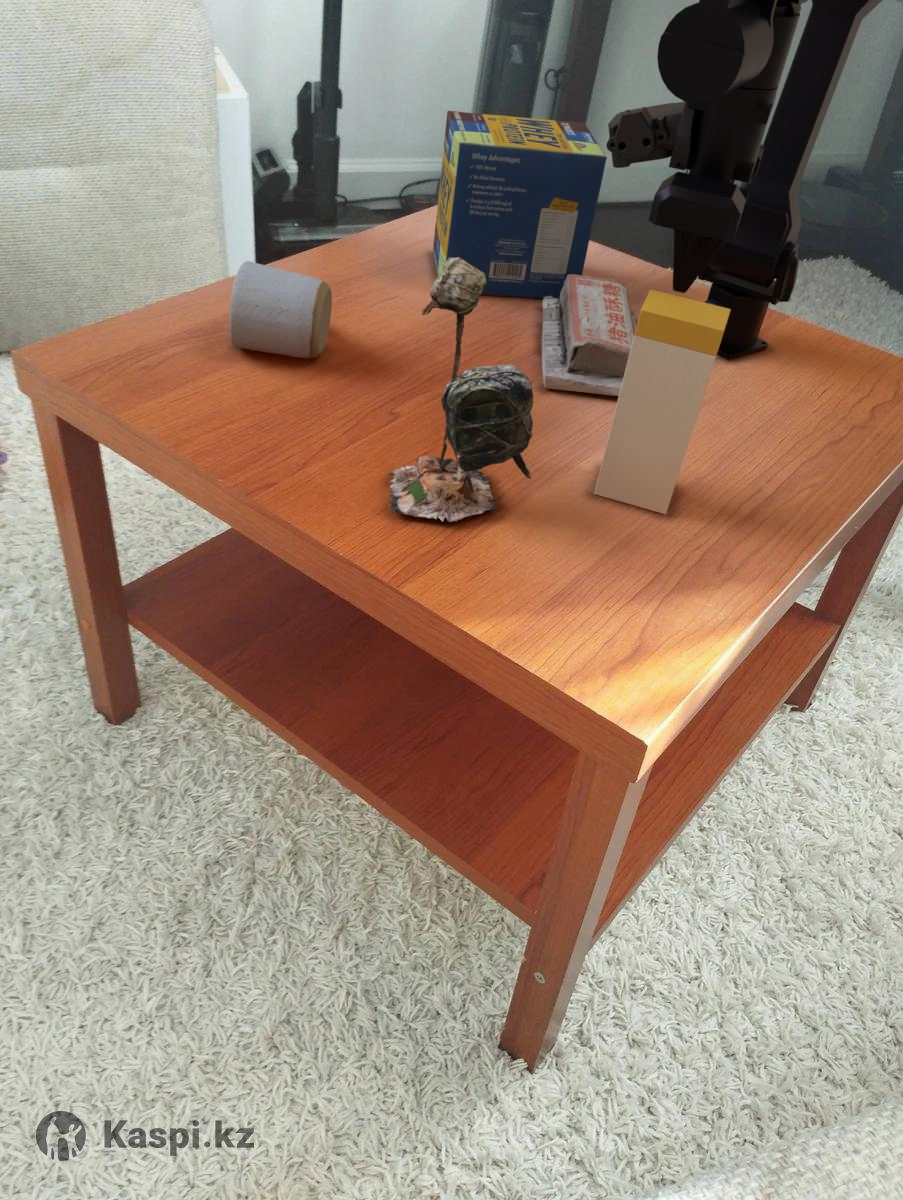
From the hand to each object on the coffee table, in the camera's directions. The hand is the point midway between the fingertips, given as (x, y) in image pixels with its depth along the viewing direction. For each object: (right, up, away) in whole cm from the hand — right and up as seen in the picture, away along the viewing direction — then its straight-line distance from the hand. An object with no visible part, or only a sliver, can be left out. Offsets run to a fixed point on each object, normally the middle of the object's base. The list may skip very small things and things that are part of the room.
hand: (681, 284), depth 82 cm
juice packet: (-4, -17, -1) cm, 18 cm away
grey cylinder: (-35, -2, +12) cm, 37 cm away
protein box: (-13, +10, +29) cm, 33 cm away
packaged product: (-5, -2, +17) cm, 18 cm away
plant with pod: (-19, -18, -4) cm, 27 cm away
